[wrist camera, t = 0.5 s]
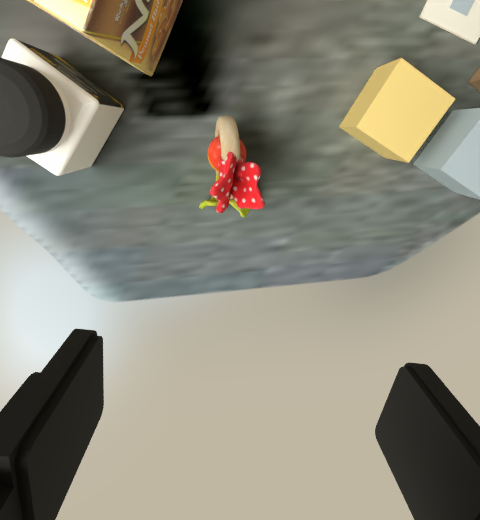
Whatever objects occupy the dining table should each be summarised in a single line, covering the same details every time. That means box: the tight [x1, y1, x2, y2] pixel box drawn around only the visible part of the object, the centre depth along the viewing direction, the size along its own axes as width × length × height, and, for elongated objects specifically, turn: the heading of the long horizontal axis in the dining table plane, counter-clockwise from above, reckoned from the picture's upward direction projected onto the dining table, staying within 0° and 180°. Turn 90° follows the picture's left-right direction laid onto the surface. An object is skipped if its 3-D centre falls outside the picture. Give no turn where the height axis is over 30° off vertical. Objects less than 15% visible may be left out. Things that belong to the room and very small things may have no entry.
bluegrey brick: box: [414, 108, 480, 200], centre depth 32 cm, size 6×6×5 cm
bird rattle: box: [199, 116, 265, 217], centre depth 29 cm, size 6×11×9 cm
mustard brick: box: [339, 58, 455, 163], centre depth 30 cm, size 6×6×5 cm
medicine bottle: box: [0, 39, 124, 176], centre depth 26 cm, size 7×7×12 cm
